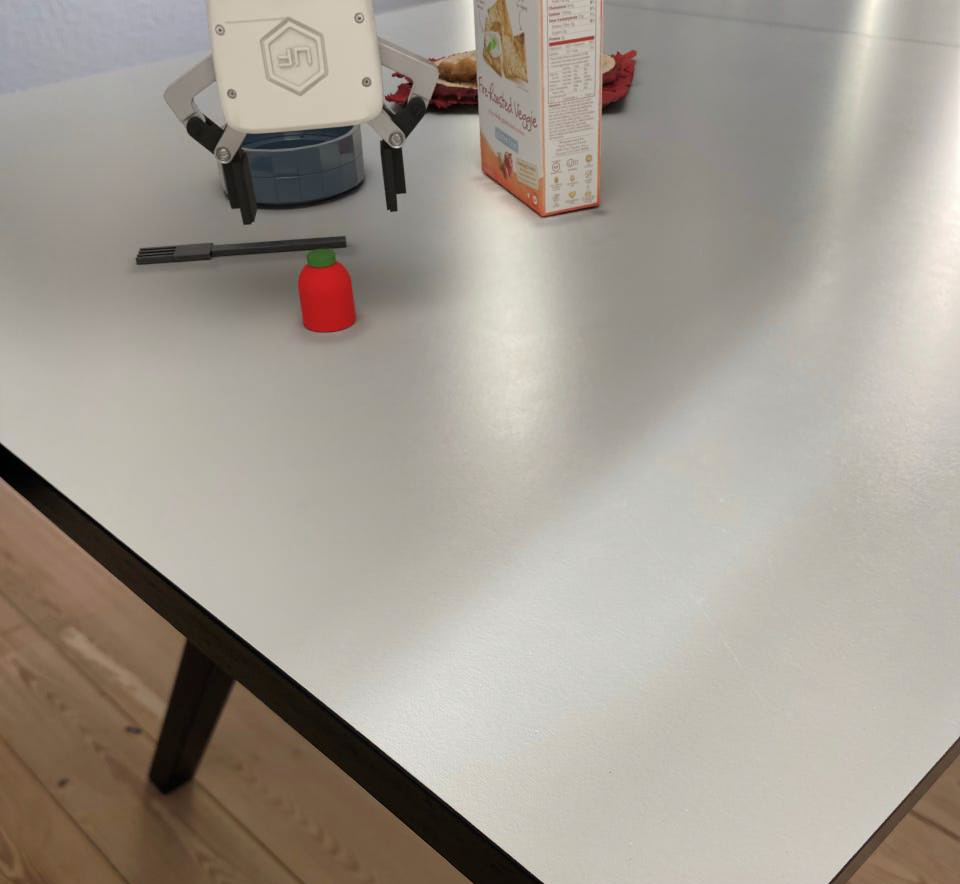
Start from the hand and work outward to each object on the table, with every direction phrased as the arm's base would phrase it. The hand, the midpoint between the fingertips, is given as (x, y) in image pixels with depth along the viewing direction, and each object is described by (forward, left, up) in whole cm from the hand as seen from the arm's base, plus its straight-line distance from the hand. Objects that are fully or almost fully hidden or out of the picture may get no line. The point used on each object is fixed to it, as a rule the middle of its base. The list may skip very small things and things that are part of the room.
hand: (321, 211), depth 76 cm
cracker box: (+18, +25, -8) cm, 32 cm away
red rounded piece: (0, 0, -8) cm, 8 cm away
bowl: (-4, +31, -8) cm, 32 cm away
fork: (-7, +15, -8) cm, 18 cm away
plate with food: (+20, +61, -8) cm, 65 cm away
